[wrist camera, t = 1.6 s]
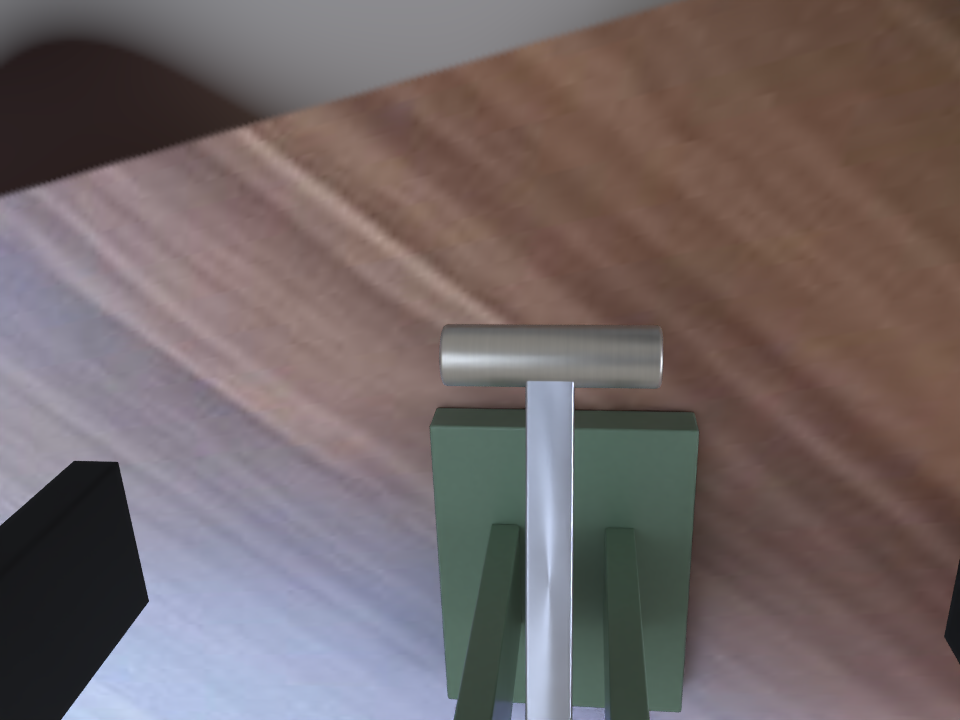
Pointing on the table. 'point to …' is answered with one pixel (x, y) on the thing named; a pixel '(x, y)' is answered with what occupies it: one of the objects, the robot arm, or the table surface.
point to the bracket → (596, 564)
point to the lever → (550, 460)
